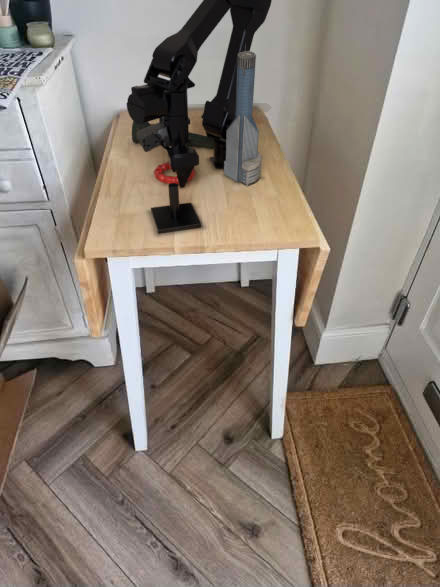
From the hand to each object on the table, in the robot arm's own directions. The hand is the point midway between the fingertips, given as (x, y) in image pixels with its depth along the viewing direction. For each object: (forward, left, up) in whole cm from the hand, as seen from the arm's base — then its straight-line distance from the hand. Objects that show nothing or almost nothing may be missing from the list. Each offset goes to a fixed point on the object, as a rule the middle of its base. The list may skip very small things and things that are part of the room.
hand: (178, 179), depth 102 cm
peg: (+16, -4, -1) cm, 16 cm away
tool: (-23, +6, -1) cm, 24 cm away
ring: (-4, 0, 0) cm, 4 cm away
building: (0, +16, -1) cm, 16 cm away
